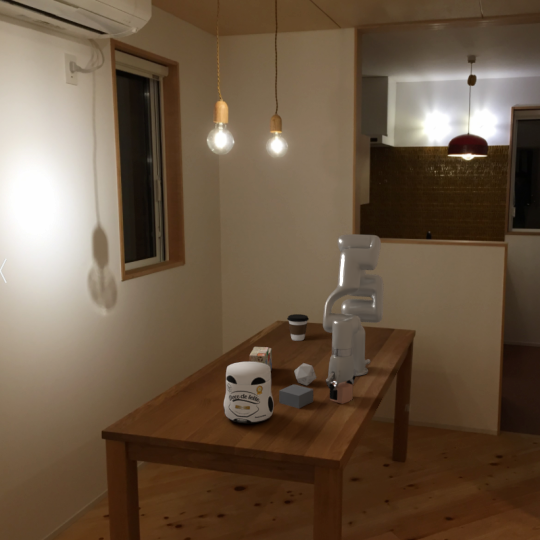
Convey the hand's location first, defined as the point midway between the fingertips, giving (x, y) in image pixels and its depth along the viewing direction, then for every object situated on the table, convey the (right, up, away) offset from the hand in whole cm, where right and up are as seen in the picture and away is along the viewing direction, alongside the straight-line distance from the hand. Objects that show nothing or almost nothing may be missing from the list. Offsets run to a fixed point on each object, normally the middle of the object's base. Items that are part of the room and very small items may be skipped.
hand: (341, 396), depth 237 cm
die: (-12, +1, +19) cm, 22 cm away
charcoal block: (-17, -2, -2) cm, 17 cm away
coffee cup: (-12, +12, +86) cm, 88 cm away
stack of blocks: (-30, +3, +28) cm, 41 cm away
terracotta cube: (0, -1, 0) cm, 1 cm away
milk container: (-34, -4, -18) cm, 39 cm away
